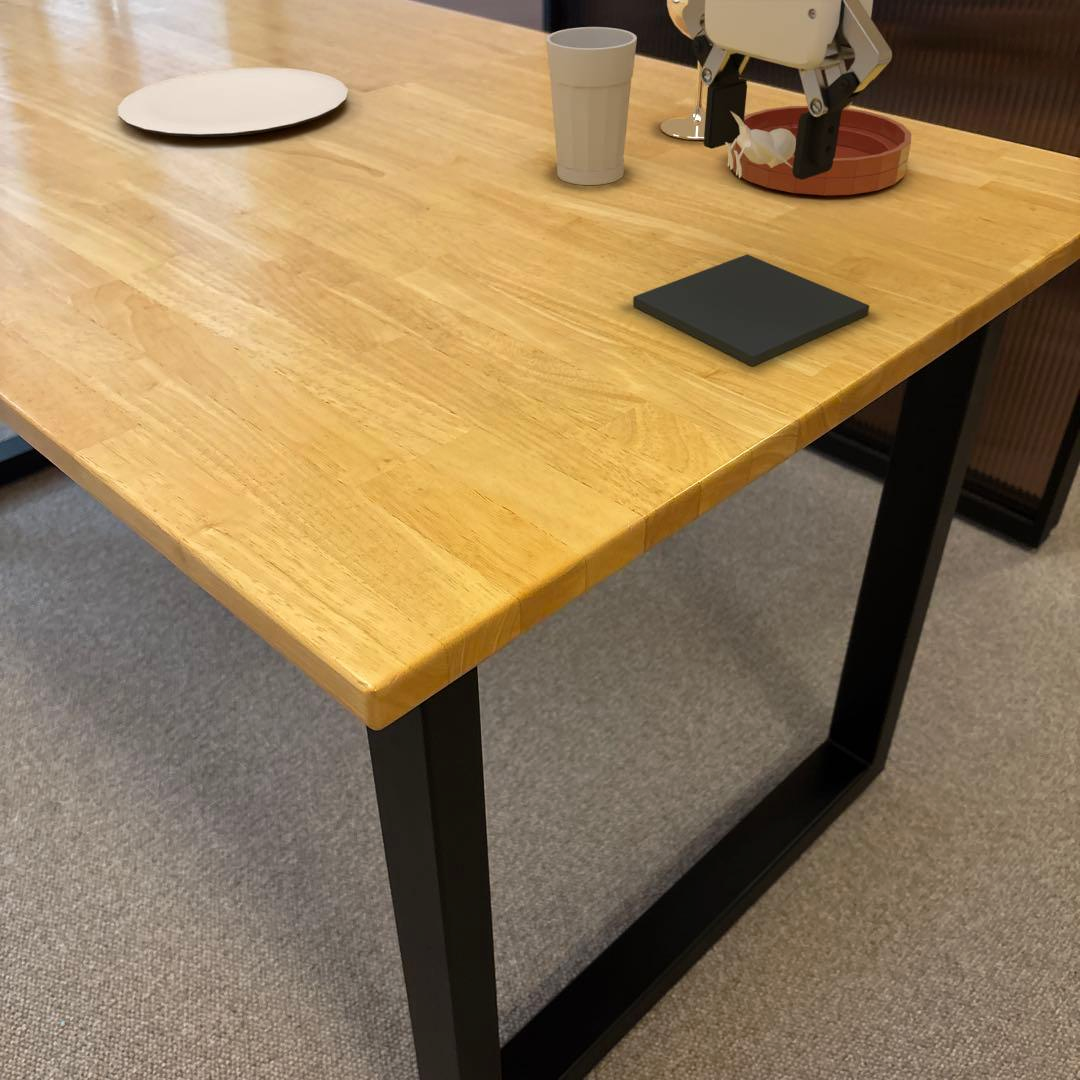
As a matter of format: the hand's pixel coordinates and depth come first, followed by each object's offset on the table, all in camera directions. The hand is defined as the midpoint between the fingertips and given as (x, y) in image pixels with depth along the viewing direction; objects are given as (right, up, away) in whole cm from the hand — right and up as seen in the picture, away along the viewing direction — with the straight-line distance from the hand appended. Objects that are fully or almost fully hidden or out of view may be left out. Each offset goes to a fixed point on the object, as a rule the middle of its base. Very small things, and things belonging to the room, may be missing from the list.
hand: (765, 156), depth 72 cm
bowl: (+11, +10, +30) cm, 34 cm away
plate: (-49, +22, +48) cm, 72 cm away
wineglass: (+1, +17, +41) cm, 44 cm away
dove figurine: (0, -1, +1) cm, 1 cm away
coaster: (0, -9, +7) cm, 11 cm away
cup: (-10, +9, +31) cm, 34 cm away
